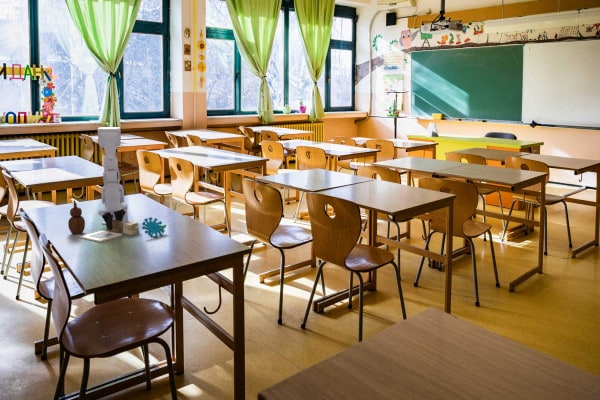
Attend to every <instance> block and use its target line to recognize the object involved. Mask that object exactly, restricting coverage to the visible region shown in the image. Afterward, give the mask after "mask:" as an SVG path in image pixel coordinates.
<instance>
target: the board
mask: <svg viewBox="0 0 600 400" xmlns="http://www.w3.org/2000/svg"><path fill="white" fill-rule="evenodd" d="M122 236H123V233H120V232H117V233H114V232H109V231H107V230H103V229H102V230H99V231H95V232H92V233H91V232H90V233H88V234H84V235H80V236H79V239H82V240H87V241H88V240H89V241H93V242H98V243H102V242H105V241H108V240H111V239H116V238H118V237H122Z"/></svg>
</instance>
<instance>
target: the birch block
mask: <svg viewBox="0 0 600 400" xmlns="http://www.w3.org/2000/svg"><path fill="white" fill-rule="evenodd" d="M139 226H140V225H139V222H138V221H130V220H129V222H126V223H122V231H123V234H126V235H131V236H132V235H135V234H139V233H140V230H139V229H140V227H139Z"/></svg>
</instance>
